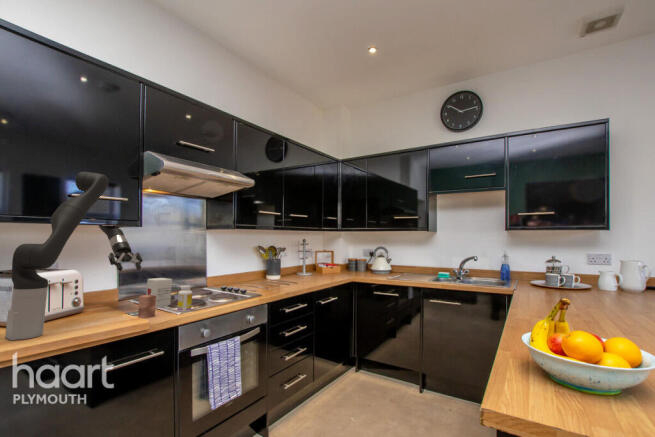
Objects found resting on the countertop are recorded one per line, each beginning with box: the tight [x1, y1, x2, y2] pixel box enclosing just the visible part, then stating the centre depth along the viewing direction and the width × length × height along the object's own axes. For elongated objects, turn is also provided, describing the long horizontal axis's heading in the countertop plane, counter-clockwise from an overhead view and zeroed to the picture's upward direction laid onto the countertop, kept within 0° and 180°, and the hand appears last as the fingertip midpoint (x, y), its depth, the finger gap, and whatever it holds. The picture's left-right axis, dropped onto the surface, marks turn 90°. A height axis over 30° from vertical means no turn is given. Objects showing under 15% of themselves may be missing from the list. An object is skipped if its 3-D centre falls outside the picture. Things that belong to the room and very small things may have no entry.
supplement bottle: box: [176, 284, 193, 313], centre depth 162 cm, size 7×7×13 cm
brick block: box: [137, 294, 157, 319], centre depth 146 cm, size 5×5×10 cm
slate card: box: [124, 310, 138, 317], centre depth 151 cm, size 12×10×1 cm
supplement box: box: [145, 277, 173, 309], centre depth 172 cm, size 9×9×15 cm
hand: (130, 269), depth 154 cm, fingers open, 8 cm apart
